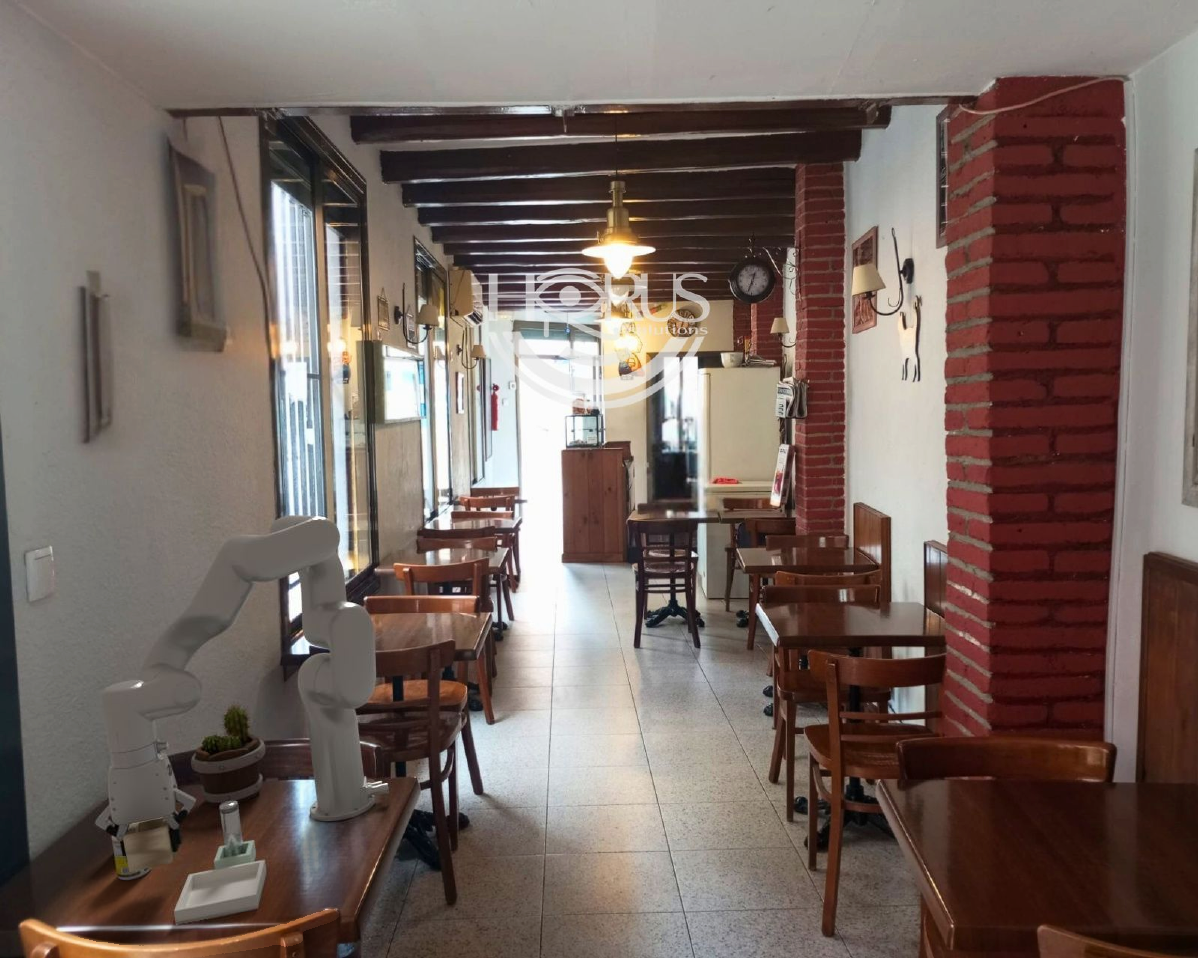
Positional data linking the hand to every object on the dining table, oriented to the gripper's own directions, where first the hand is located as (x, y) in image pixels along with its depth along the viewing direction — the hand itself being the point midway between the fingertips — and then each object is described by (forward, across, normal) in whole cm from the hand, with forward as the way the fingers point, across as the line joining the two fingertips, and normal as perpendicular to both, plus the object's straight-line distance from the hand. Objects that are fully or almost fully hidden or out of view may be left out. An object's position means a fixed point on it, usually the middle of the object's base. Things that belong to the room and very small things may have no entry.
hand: (153, 852), depth 160 cm
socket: (+7, -12, -3) cm, 14 cm away
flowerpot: (+8, -7, -37) cm, 39 cm away
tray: (+7, -12, +8) cm, 16 cm away
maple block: (+1, 0, 0) cm, 1 cm away
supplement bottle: (+7, +6, -8) cm, 12 cm away
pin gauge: (+7, -12, -3) cm, 14 cm away
